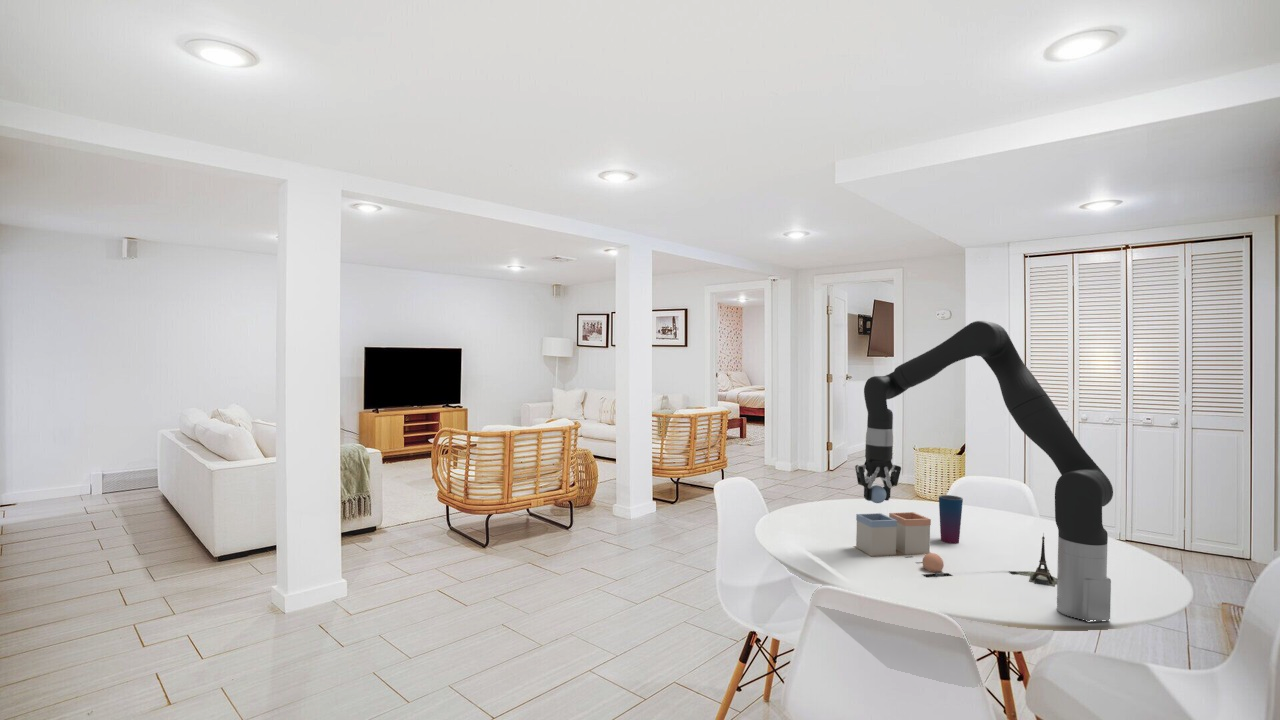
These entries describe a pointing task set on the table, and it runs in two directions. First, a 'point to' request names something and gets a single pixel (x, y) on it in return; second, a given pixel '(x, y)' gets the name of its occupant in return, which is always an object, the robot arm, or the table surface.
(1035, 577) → the eiffel tower figurine
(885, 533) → the tube slate
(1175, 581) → the table surface
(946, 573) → the mat
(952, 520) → the cup
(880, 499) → the ball slate
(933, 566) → the ball terracotta
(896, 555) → the tube board
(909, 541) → the tube terracotta
